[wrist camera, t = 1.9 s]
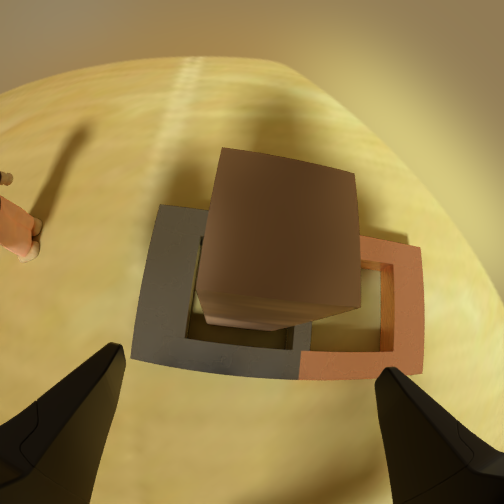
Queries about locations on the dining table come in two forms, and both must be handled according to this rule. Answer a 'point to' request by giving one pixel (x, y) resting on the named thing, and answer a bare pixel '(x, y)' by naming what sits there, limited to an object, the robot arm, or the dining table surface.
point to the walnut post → (279, 243)
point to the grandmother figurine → (17, 227)
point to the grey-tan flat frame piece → (297, 337)
